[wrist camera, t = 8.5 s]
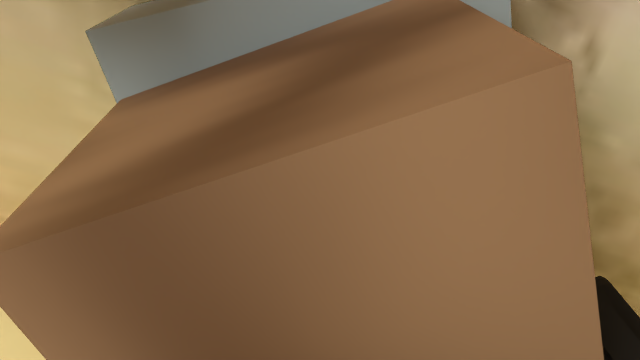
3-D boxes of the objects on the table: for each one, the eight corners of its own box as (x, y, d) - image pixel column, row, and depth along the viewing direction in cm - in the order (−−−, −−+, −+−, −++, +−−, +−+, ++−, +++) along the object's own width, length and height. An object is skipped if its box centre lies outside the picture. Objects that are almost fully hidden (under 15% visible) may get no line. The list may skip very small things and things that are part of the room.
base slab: (459, -76, 12) (507, -74, 9) (495, 349, 18) (529, 424, 15) (131, 5, 12) (85, 31, 10) (279, 390, 19) (276, 469, 16)
